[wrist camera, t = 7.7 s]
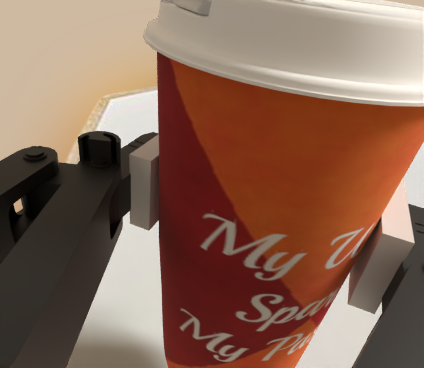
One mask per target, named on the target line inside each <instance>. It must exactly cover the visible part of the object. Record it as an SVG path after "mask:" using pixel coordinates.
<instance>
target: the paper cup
mask: <svg viewBox="0 0 424 368" xmlns="http://www.w3.org/2000/svg"><path fill="white" fill-rule="evenodd" d="M143 35H144V36H143V37H144V39H145V41H146V43H147V44H148V45H149V46H150V47H152V48H153V49H154V50H156V51H157V75H158V126H159V247H160V266H161V284H162V314H163V337H164V349H165V357H166V361H167V365H168V368H295V366H296V365H297V363H298V361H299V359H300V358H301V356H302V354H303V353H304V351H305V349H306V347H307V346H308V344H309V342H310V340H311V339H312V337H313V335H314V334H315V332H316V330H317V328H318V327H319V325H320V323H321V321H322V320H323V318H324V316H325V314H326V313H327V311H328V309H329V307H330V306H331V304H332V302H333V300H334V299H335V297H336V295H337V293H338V292H339V290H340V288H341V286H342V285H343V283H344V281H345V279H346V278H347V276H348V274H349V272H350V270H351V269H352V267H353V265H354V263H355V262H356V260H357V258H358V256H359V255H360V253H361V251H362V249H363V247H364V246H365V244H366V242H367V240H368V239H369V237H370V235H371V233H372V232H373V230H374V228H375V226H376V224H377V223H378V221H379V219H380V217H381V216H382V214H383V212H384V210H385V209H386V207H387V205H388V203H389V202H390V200H391V198H392V196H393V194H394V193H395V191H396V189H397V187H398V186H399V184H400V182H401V180H402V179H403V177H404V175H405V173H406V172H407V170H408V168H409V166H410V164H411V163H412V161H413V159H414V157H415V156H416V154H417V152H418V150H419V149H420V147H421V145H422V143H423V142H424V7H419V6H414V5H408V4H402V3H396V2H391V1H384V0H161V3H160V9H159V15H158V18H156V19H153V20H152V21H150V22H149V23H148V25H147V28H146V29H145V31H144V34H143Z"/></svg>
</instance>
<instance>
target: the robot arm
mask: <svg viewBox="0 0 424 368" xmlns="http://www.w3.org/2000/svg"><path fill="white" fill-rule="evenodd" d="M78 145H79V155H80V161H79V162H78V164H68V163H59V162H58V155H57V152H56V151H55V150H53V149H51V148H48V147H42V146H38V147H37V146H32V147H30V148H25V149H22V150H20V151H17V152H16V153H14V154H12V155H10V156H8V157H7V158H5V159H3V160H1V161H0V368H66V366H67V363H68V361H69V358H70V356H71V354H72V351H73V349H74V346H75V344H76V341H77V339H78V336H79V334H80V331H81V329H82V326H83V324H84V321H85V319H86V316H87V314H88V312H89V309H90V307H91V304H92V302H93V299H94V297H95V294H96V292H97V289H98V287H99V284H100V282H101V279H102V277H103V275H104V272H105V270H106V267H107V265H108V262H109V260H110V257H111V255H112V252H113V250H114V247H115V245H116V242H117V240H118V237H119V235H120V233H121V230H122V226H123V216H124V215H125V214H127V213H128V212H129V211H130V224H133V225H135V226H138V227H141V228H144V229H146V230H150V229H151V228H152V227H153V226H154V225H155V223H156V222H157V221H158V220H159V134H158V133H154V132H152V133H148V134H144V135H141V136H140V137H138V138H137V139H135V140H134V141H132V142H131V143H129V144H128V145H126V146H124V147H123V148H121V139H120V138H119V136H118V135H116V134H113V133H110V132H105V131H94V132H88V133H85V134H82V135H80V136H79V137H78ZM20 198H21V201H22V206H23V209H22V210H21V211H19V212H17V213H16V212H15V209H14V205H13V204H14V203H15V202H16V201H17V200H19V199H20ZM381 302H382V314H381V316H380V318H379V319H378V321H377V323H376V325H375V326H374V328H373V330H372V331H371V333H370V335H369V336H368V338H367V341H366V343H365V344H364V346H363V348H362V350H361V352H360V354H359V355H358V357H357V359H356V361H355V363H354V364H353V366H352V368H424V208H421V207H417V206H414V205H410V204H408V201H407V196H406V190H405V184H404V178H403V179H402V180H401V182H400V184H399V186H398V187H397V189H396V191H395V193H394V194H393V196H392V198H391V200H390V202H389V203H388V205H387V207H386V209H385V210H384V212H383V214H382V216H381V217H380V219H379V221H378V223H377V224H376V226H375V228H374V230H373V232H372V233H371V235H370V237H369V239H368V240H367V242H366V244H365V246H364V247H363V249H362V251H361V253H360V255H359V256H358V258H357V260H356V262H355V263H354V265H353V267H352V269H351V270H350V279H349V293H348V304H349V305H352V306H354V307H357V308H360V309H363V310H365V311H368V312H371V313H373V314H375V312H376V310H377V309H378V307H379V305H380V303H381Z"/></svg>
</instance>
